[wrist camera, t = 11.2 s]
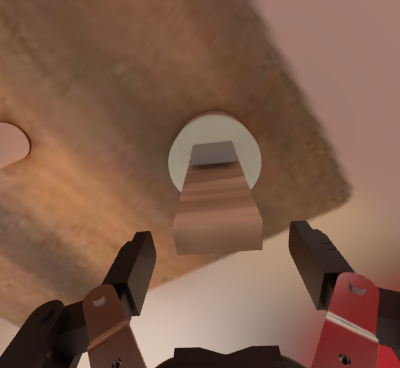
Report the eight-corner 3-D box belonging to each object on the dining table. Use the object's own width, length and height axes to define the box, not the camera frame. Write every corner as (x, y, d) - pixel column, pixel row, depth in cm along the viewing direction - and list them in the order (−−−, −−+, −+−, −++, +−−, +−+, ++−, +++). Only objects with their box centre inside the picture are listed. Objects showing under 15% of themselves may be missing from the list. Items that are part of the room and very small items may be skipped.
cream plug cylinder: (171, 115, 28) (151, 131, 18) (249, 106, 27) (271, 118, 17) (182, 184, 32) (171, 227, 22) (250, 178, 31) (268, 220, 22)
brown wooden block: (189, 159, 23) (171, 227, 12) (236, 155, 22) (262, 221, 12) (192, 176, 24) (177, 255, 13) (237, 172, 23) (262, 249, 12)
